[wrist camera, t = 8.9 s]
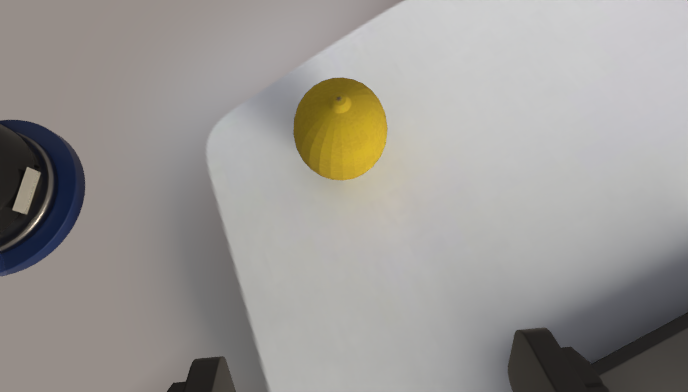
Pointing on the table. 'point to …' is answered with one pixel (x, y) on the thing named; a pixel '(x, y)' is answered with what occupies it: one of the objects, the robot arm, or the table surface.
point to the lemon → (340, 128)
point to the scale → (650, 362)
